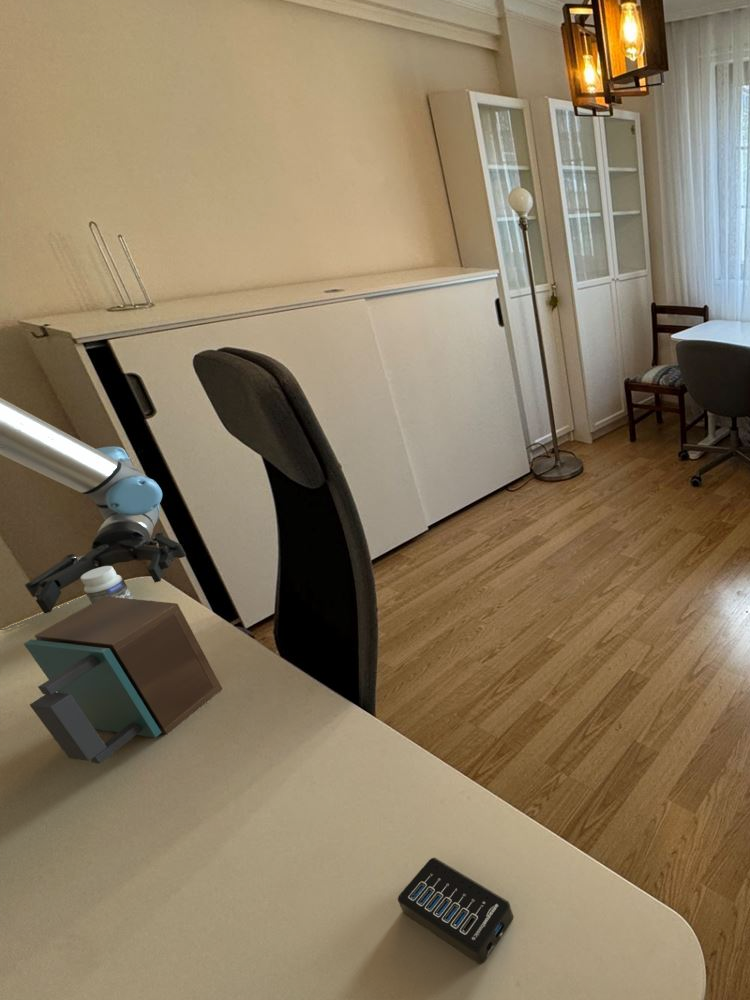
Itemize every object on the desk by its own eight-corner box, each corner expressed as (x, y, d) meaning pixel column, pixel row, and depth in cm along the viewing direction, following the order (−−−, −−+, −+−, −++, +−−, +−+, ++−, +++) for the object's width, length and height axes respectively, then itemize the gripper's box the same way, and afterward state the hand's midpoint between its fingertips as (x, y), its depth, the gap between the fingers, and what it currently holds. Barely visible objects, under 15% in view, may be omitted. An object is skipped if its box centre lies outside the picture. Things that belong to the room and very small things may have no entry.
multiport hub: (437, 868, 60) (432, 855, 59) (515, 916, 56) (511, 902, 55) (401, 911, 56) (395, 898, 55) (481, 966, 52) (477, 953, 51)
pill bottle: (128, 615, 98) (106, 576, 95) (94, 622, 97) (70, 583, 93) (142, 599, 102) (121, 561, 99) (109, 606, 101) (86, 567, 97)
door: (26, 767, 71) (-43, 680, 64) (88, 722, 77) (31, 639, 70) (104, 779, 69) (41, 691, 63) (161, 732, 75) (109, 648, 69)
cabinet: (94, 724, 77) (33, 635, 71) (155, 680, 85) (105, 596, 78) (167, 734, 76) (111, 644, 69) (222, 688, 83) (177, 603, 76)
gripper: (211, 533, 119) (204, 580, 104) (42, 576, 106) (4, 638, 90) (197, 502, 116) (187, 547, 101) (21, 543, 103) (-22, 601, 87)
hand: (100, 590), depth 95 cm, fingers open, 13 cm apart
